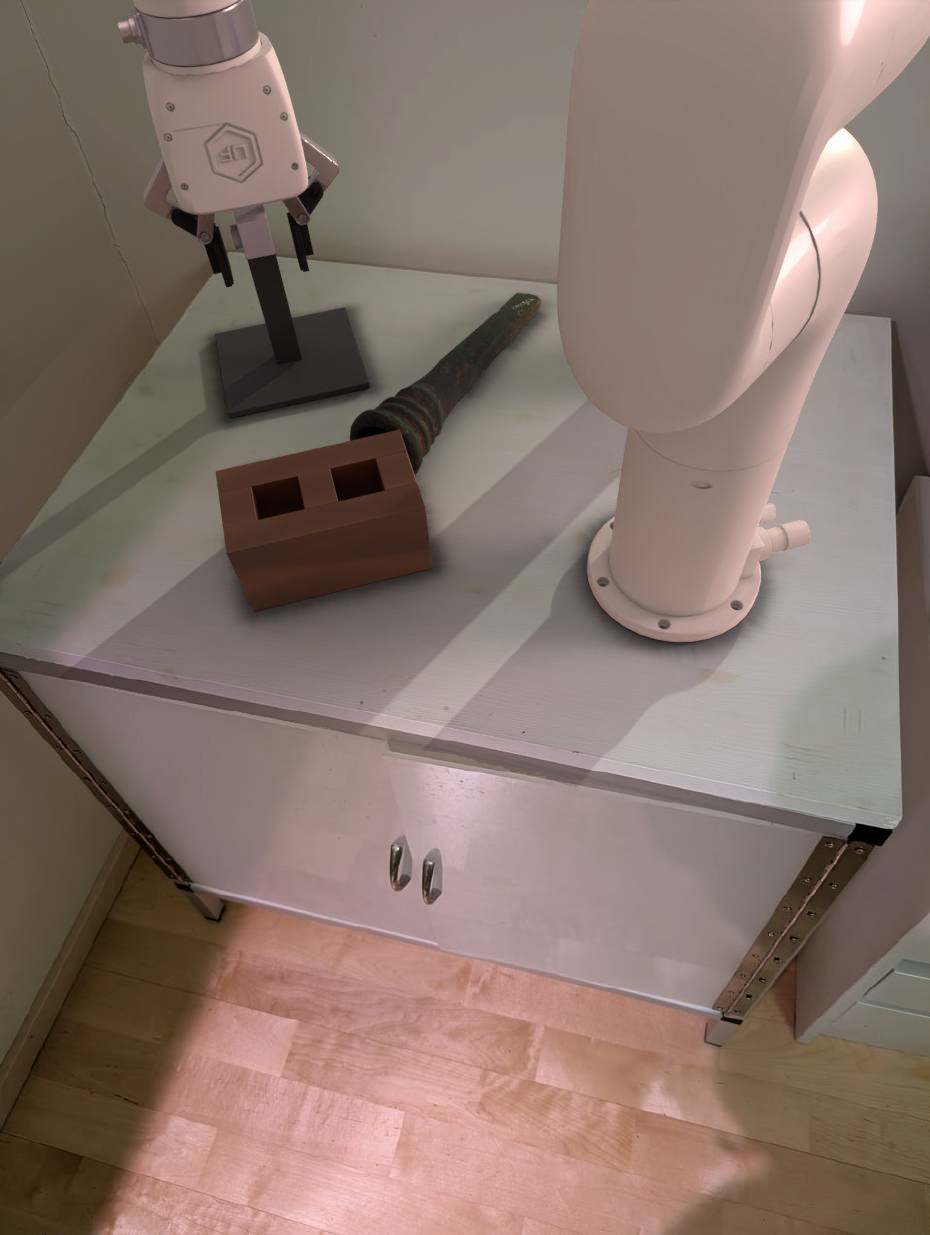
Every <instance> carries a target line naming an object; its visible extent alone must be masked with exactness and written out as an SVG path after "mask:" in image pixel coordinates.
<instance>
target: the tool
mask: <svg viewBox="0 0 930 1235" xmlns="http://www.w3.org/2000/svg"><path fill="white" fill-rule="evenodd" d="M541 305H542V299H541V298H540V297H539V296H538V295H536V294H532V293H527V292H516V293H515V294H513V295H512V296H511V297H510V298H509V299H508V300H507V301H506V302H505V303H504V304H503V305H502V306H501V307H500V309H499V310H498V311H496V312H494V313H493V314H492V315H491V316H489V317H487V319H486V320H485V321H484V322H483V323H481V324H480V325H479V326H478V327H477V328H476V329H475V330H473V331H472V332H471V333H470V334H468V335H467V336H466V337H465V338H464V339H463V340H462V341H460V342H459V343H458V344H457V345H456V346H455V347H453V348H452V349H451V350H450V351H449V352H448V353H447V354H445V355H444V356H443V357H442V358H441V359H440V360H439V361H438V362H437V363H436V365H434V366H433V367H432V368H431V369H430V370H429V371H428V372H426V374H425V375H423V376H422V377H421V378H419V379H418V380H416V381H415V382H413V383H411V384H410V385H407V386H406V387H403V388H401V389H399V390H398V391H397V393H396V394H395V395H394V396H389V397H387V398H385V399H384V400H382V401H381V402H380V403H379V405H378V406H376V407H375V408H373V409H372V408H369V409H366V410H364V411H362V412H361V413H359V414H358V415H357V417H355V419H354V420H353V421H352V423H351V426H350V430H349V441H352V440H356V439H361V438H365V437H370V436H374V435H379V434H383V433H388V432H392V431H396V430H400V432H401V435H402V438H403V441H404V444H405V447H406V450H407V453H408V456H409V459H410V462H411V465H412V468H413V472H414V475H415V476H416V475H417V474H418V473H419V471H420V469H421V466H422V464H423V462H424V458H425V457H427V455H428V454H429V453H430V451H431V446H433V444H434V443H435V441H436V438H437V437H439V436H440V434H441V432H442V430H443V426H444V423H445V422H446V420H447V419H448V417H449V416H450V414H451V413H452V412H453V410H455V408H456V406H457V405H458V404H459V402H460V401H461V400H462V399H463V398H464V397H465V396H466V395H467V394H468V393H469V392H470V391H471V390H472V388H473V387H474V386H475V384H476V383H477V381H478V380H479V379H480V377H481V376H482V375H483V374H484V372H485V371H486V370H487V369H488V368H489V366H490V365H491V363H493V361H494V360H495V359H496V358H497V356H499V354H500V353H501V352H502V351H503V350H504V349H505V348H506V347H507V346H508V345H509V344H510V343H511V341H513V339H514V338H516V336H518V334H519V333H520V332H521V331H522V329H523V328H525V326H526V325H527V324H528V323H529V322H530V321H531V320H532V318H533V317H534V315H536V313H537V312H538V311H539V309H540V307H541Z"/></svg>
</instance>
